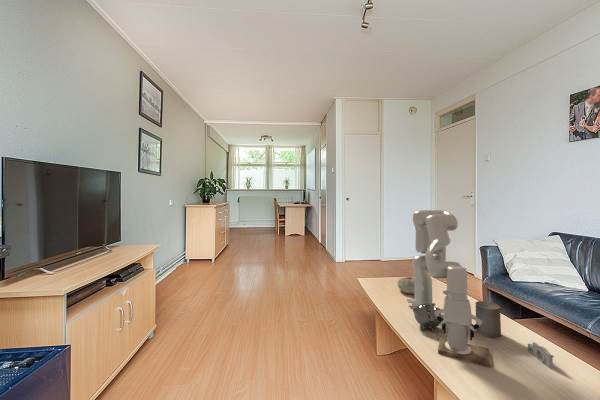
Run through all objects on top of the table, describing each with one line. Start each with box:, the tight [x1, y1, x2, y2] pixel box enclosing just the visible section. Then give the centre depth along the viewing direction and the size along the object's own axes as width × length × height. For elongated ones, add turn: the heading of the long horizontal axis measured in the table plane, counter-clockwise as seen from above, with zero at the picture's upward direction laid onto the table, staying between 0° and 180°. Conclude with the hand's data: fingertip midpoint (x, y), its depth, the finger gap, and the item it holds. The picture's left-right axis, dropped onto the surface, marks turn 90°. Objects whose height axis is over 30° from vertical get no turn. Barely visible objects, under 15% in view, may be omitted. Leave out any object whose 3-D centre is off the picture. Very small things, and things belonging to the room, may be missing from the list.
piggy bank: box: [412, 302, 444, 331], centre depth 129 cm, size 11×15×12 cm
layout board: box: [437, 336, 492, 368], centre depth 107 cm, size 18×12×2 cm, turn 57°
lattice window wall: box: [527, 341, 555, 369], centre depth 102 cm, size 12×2×6 cm, turn 170°
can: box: [446, 322, 469, 351], centre depth 108 cm, size 8×8×12 cm
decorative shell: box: [397, 276, 415, 295], centre depth 179 cm, size 18×18×10 cm
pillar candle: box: [475, 300, 502, 339], centre depth 123 cm, size 10×10×15 cm
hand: (457, 335), depth 108 cm, fingers open, 9 cm apart
